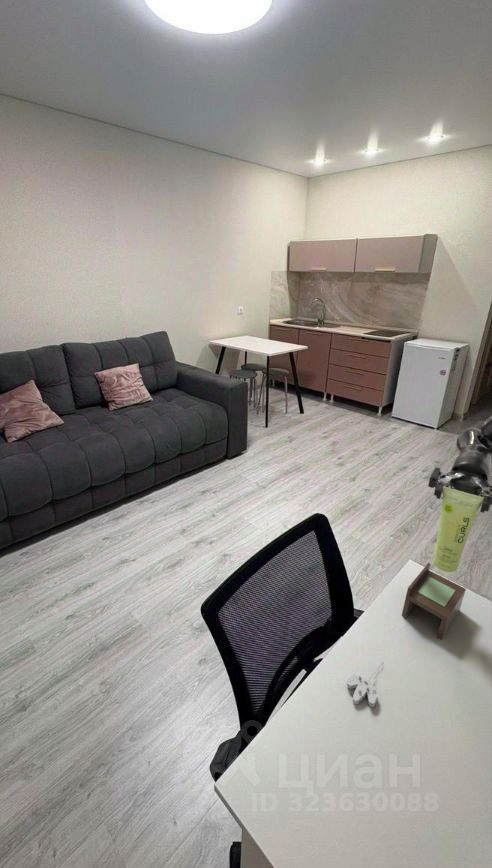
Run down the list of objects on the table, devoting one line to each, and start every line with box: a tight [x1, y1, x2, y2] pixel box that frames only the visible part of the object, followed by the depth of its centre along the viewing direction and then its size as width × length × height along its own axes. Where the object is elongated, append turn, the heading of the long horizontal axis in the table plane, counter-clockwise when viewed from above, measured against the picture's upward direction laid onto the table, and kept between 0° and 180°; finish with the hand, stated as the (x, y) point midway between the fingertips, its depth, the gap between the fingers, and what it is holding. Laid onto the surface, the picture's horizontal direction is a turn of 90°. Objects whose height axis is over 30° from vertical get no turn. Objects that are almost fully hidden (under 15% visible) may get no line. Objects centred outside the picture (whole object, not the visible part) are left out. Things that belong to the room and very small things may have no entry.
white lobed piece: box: [346, 661, 384, 707], centre depth 81 cm, size 6×12×3 cm, turn 151°
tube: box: [432, 486, 484, 573], centre depth 88 cm, size 6×5×20 cm
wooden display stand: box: [401, 562, 466, 640], centre depth 95 cm, size 12×9×9 cm
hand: (460, 501), depth 84 cm, fingers closed on tube, 7 cm apart
